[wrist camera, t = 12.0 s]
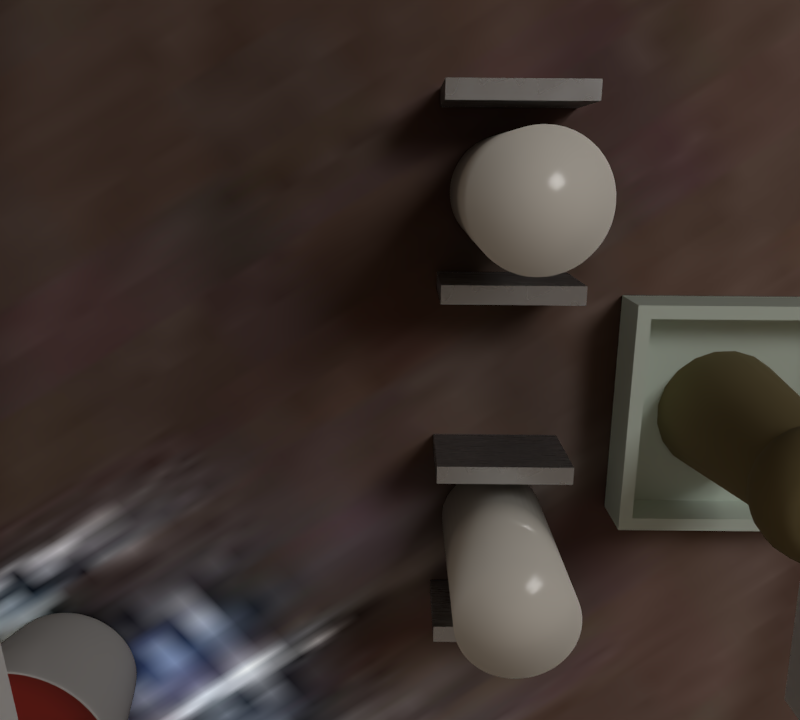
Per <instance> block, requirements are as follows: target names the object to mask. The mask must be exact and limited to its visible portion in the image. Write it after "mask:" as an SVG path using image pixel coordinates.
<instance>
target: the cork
mask: <svg viewBox="0 0 800 720" xmlns="http://www.w3.org/2000/svg"><path fill="white" fill-rule="evenodd" d="M657 425H658V428H659V432H660V435H661V439H662V441H663V443H664V444H665V445H666V447H667V448H668V449H669V451H670V452H671V453H672V455H673V456H675V457H676V458H678V459H679V460H681V461H682V462H684V463H685V464H687V465H688V466H690V467H691V468H693V469H694V470H696V471H697V472H699V473H700V474H702V475H703V476H705V477H707V478H708V479H710V480H711V481H713V482H714V483H716V484H717V485H719V486H720V487H722V488H723V489H725V490H726V491H728V492H730V493H731V494H733V495H734V496H736V497H737V498H739V499H740V500H742V501H743V502H745V503H746V504H748V506H749V509H750V513H751V516H752V519H753V521H754V523H755V525H756V526H757V528H758V529H759V530H760V532H761V533H762V534H763V536H764V537H765V539H766V540H767V541H768V542H769V543H770V544H771V545H772V546H773V547H774V548H776V549H777V550H779V551H780V552H782V553H783V554H785V555H786V556H788V557H789V558H791V559H793V560H795V561H797V562H799V563H800V396H799V395H798V394H797V393H796V392H795V391H794V390H793V389H792V388H791V387H790V386H789V385H788V384H786V383H785V382H784V381H783V380H782V379H781V378H780V377H779V376H778V375H777V374H776V373H775V372H774V371H773V370H772V369H771V368H770V367H768V366H767V365H765V364H764V363H763V362H761V361H760V360H758V359H757V358H756V357H754V356H751V355H747V354H744V353H740V352H737V351H722V352H713V353H710V354H707V355H704V356H701V357H698V358H695V359H694V360H692V361H691V362H689V363H688V364H686V365H685V366H684V367H682V368H681V369H679V370H678V371H677V372H676V374H675V375H674V376H673V377H672V379H671V380H670V381H669V382H668V384H667V385H666V386H665V388H664V391H663V393H662V396H661V398H660V401H659V404H658V415H657Z"/></svg>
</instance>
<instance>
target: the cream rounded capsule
mask: <svg viewBox="0 0 800 720" xmlns="http://www.w3.org/2000/svg"><path fill="white" fill-rule="evenodd" d="M442 527H443V537H444V546H445V555H446V565H447V574H448V583H449V592H450V602H451V611H452V620H453V630H454V635H455V639H456V642H457V644H458V646H459V648H460V650H461V652H462V653H463V654H464V656H465V657H466V658H467V659H468V660H469V661H470V662H471V663H472V664H473V665H475V666H476V667H477V668H479V669H481V670H482V671H484V672H487V673H489V674H491V675H494V676H498V677H503V678H512V679H519V678H528V677H533V676H536V675H540V674H542V673H545V672H547V671H549V670H551V669H553V668H554V667H556V666H557V665H559V664H560V663H561V662H562V661H563V660H564V659H566V658H567V656H568V655H569V654H570V653H571V652H572V650H573V649H574V647H575V646H576V643H577V641H578V639H579V636H580V633H581V628H582V612H581V607H580V604H579V601H578V599H577V596H576V594H575V591H574V589H573V586H572V584H571V581H570V579H569V576H568V574H567V571H566V569H565V566H564V564H563V561H562V559H561V556H560V554H559V551H558V549H557V546H556V544H555V541H554V539H553V536H552V534H551V531H550V529H549V526H548V524H547V521H546V519H545V516H544V514H543V511H542V509H541V506H540V503H539V501H538V499H537V497H536V494H535V493H534V491H533V490H532V489H531V488H530V486H529V485H528V484H457V485H456V486H455V487H454V488H453V489H452V490H451V492H450V493H449V494H448V496H447V498H446V500H445V502H444V505H443V509H442Z"/></svg>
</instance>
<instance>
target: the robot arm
mask: <svg viewBox="0 0 800 720" xmlns="http://www.w3.org/2000/svg"><path fill="white" fill-rule="evenodd" d="M785 701H786V702H787V703H788V705H789V706H790V708H791V709H792V711H793V712H794V714H795V715H796V716H797V718H798V719H799V720H800V584H799V592H798V600H797V607H796V615H795V623H794V630H793V638H792V646H791V654H790V661H789V669H788V677H787V684H786V692H785ZM0 720H18V716H17V712H16V708H15V703H14V699H13V695H12V691H11V686H10V682H9V678H8V673H7V669H6V665H5V660H4V656H3V652H2V647H1V643H0Z"/></svg>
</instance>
